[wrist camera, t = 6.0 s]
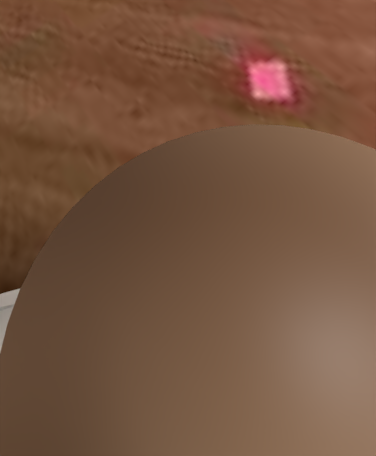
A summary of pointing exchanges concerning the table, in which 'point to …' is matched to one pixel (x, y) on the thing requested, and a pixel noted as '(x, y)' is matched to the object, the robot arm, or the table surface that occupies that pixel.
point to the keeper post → (204, 306)
